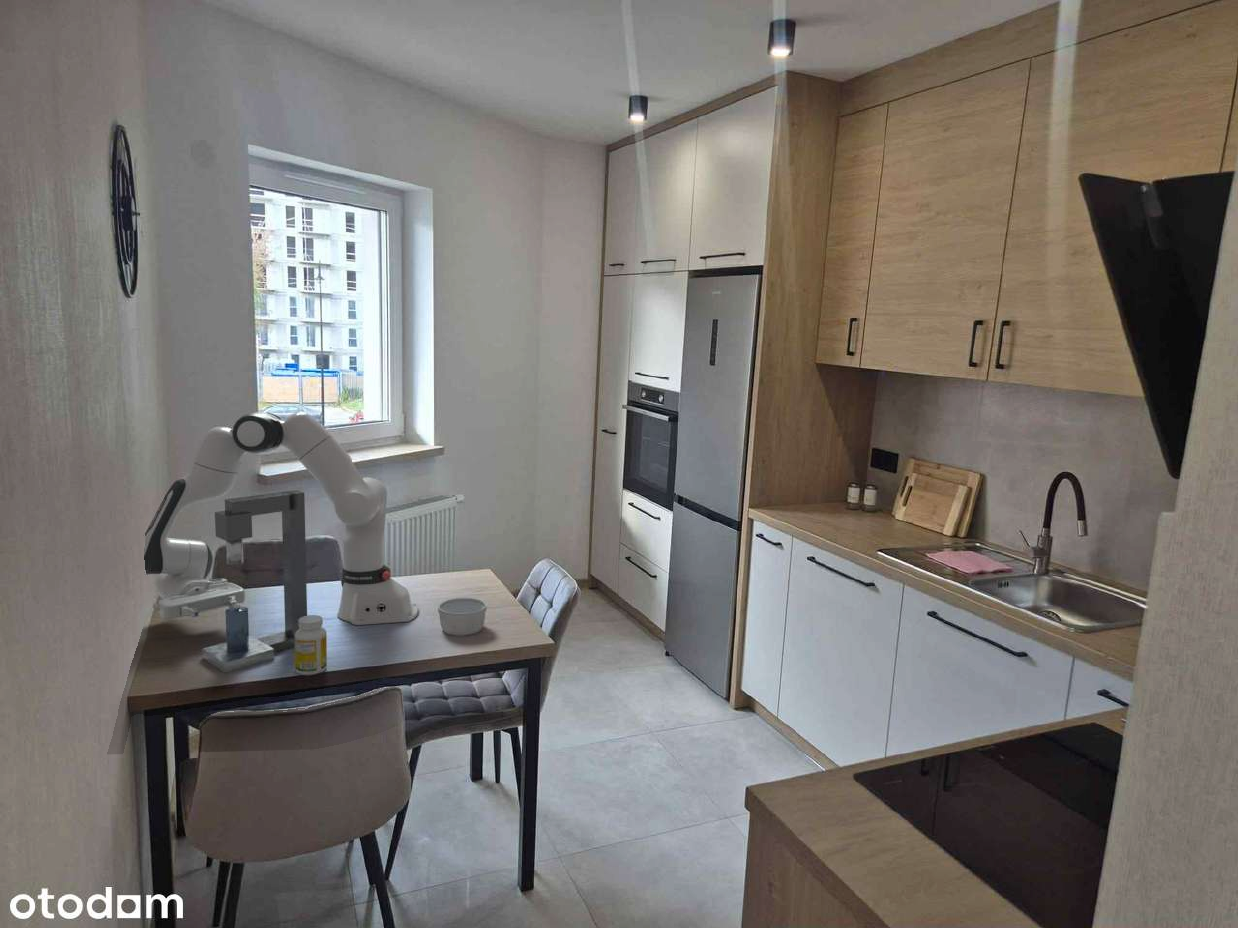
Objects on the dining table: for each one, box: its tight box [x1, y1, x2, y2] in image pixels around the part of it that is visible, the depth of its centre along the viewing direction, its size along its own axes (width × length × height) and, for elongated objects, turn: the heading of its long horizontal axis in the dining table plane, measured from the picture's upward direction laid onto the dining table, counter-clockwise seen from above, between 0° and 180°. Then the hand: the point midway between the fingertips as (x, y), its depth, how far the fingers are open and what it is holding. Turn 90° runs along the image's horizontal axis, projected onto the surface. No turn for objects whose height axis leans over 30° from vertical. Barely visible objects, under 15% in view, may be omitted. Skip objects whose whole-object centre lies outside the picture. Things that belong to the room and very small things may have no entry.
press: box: [202, 489, 308, 674], centre depth 194 cm, size 23×12×40 cm, turn 140°
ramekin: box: [437, 597, 488, 637], centre depth 218 cm, size 13×13×7 cm
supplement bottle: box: [294, 614, 328, 676], centre depth 188 cm, size 7×7×13 cm
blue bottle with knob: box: [224, 603, 250, 653], centre depth 192 cm, size 5×5×12 cm
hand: (215, 609), depth 199 cm, fingers open, 8 cm apart
